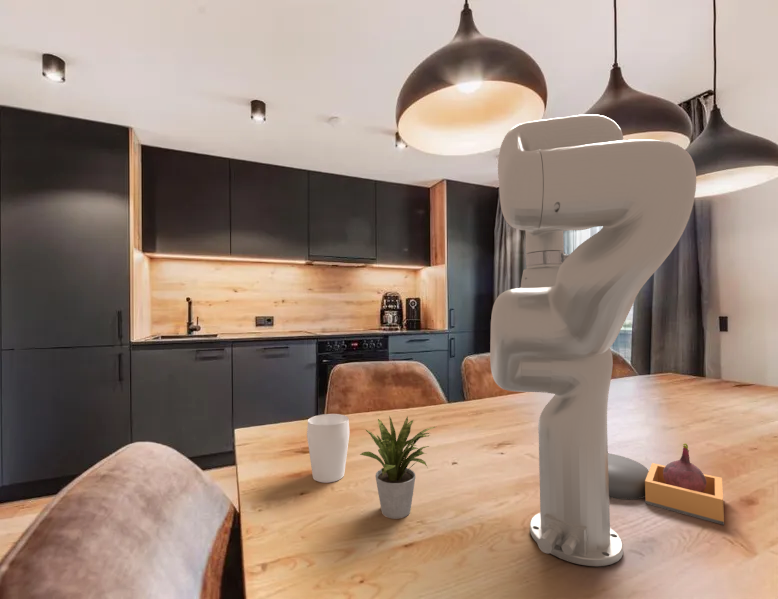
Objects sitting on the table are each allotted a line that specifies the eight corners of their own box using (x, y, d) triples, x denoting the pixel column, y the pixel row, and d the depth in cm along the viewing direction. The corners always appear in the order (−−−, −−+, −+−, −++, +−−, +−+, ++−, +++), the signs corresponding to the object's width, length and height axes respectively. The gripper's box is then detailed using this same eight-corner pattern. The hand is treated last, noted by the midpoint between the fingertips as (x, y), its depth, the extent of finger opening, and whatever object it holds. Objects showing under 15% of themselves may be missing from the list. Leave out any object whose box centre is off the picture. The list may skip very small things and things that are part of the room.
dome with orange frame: (724, 529, 58) (723, 504, 59) (560, 483, 75) (560, 463, 75) (722, 496, 69) (721, 474, 69) (579, 462, 85) (578, 444, 85)
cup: (337, 488, 73) (337, 427, 74) (298, 482, 76) (298, 423, 77) (356, 470, 82) (356, 415, 82) (321, 465, 85) (320, 412, 85)
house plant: (436, 544, 56) (434, 434, 56) (347, 535, 58) (347, 429, 58) (440, 497, 70) (438, 409, 70) (368, 491, 72) (367, 407, 73)
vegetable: (711, 511, 63) (709, 452, 63) (666, 502, 66) (664, 446, 66) (702, 496, 68) (700, 441, 69) (661, 488, 71) (659, 436, 72)
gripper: (593, 259, 77) (596, 342, 76) (512, 267, 88) (514, 339, 87) (584, 255, 71) (586, 345, 70) (499, 264, 82) (500, 341, 82)
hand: (546, 341), depth 79 cm, fingers open, 9 cm apart
